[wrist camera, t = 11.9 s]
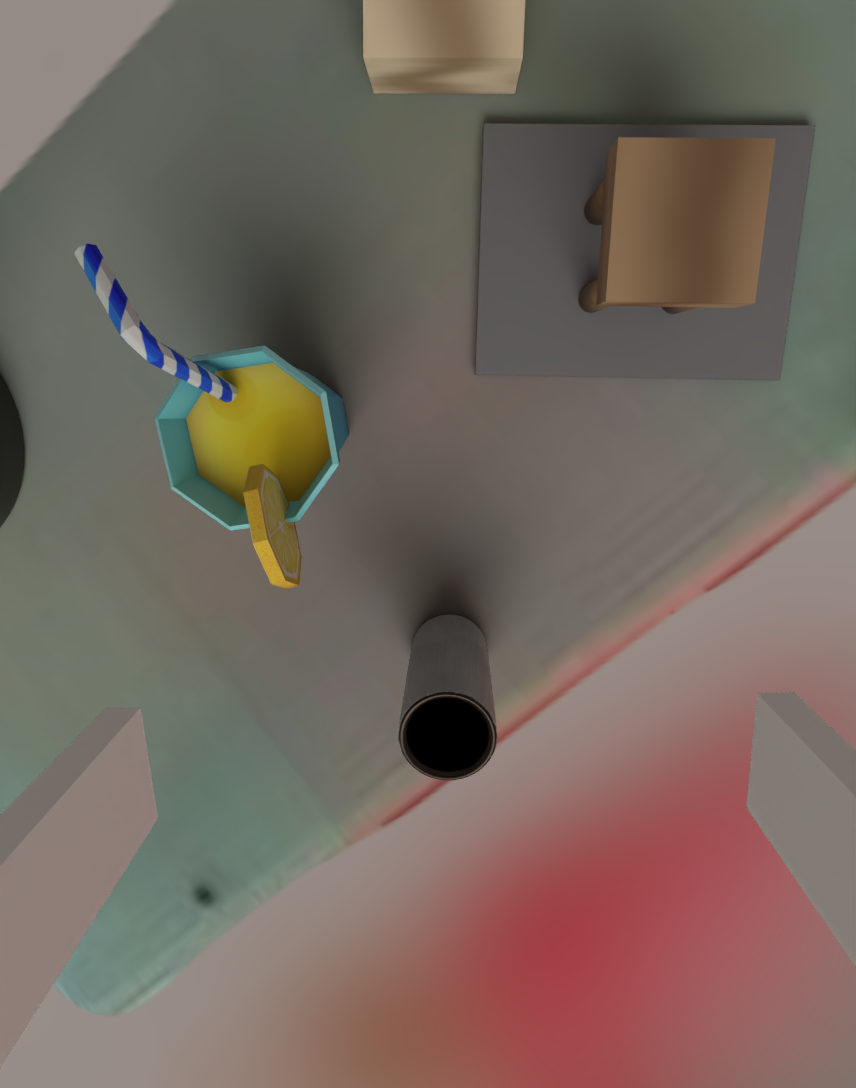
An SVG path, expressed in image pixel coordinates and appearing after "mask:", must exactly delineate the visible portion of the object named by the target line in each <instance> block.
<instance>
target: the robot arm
mask: <svg viewBox="0 0 856 1088" xmlns="http://www.w3.org/2000/svg"><path fill="white" fill-rule="evenodd" d="M23 469H24V445H23V436H22V430H21V425H20V421H19V417H18V414H17V411H16V408H15V405H14V403H13V400H12V398H11V396H10V393H9V391H8V389H7V387H6V385H5V384H4V382H3V380H2V378H1V377H0V527H1V525H2V524H3V523H4V521H5V520H6V518H7V517H8V515H9V514H10V512H11V510H12V508H13V506H14V504H15V501H16V499H17V496H18V493H19V490H20V486H21V481H22V476H23ZM747 809H748V810H749V812H750V813H751V815H752V816H753V818H754V819H755V821H756V822H757V824H758V825H759V826H760V828H761V829H762V831H763V832H764V834H765V835H766V837H767V838H768V840H769V841H770V843H771V844H772V846H773V847H774V848H775V850H776V851H777V853H778V854H779V856H780V857H781V859H782V860H783V862H784V863H785V865H786V866H787V867H788V869H789V870H790V872H791V873H792V875H793V876H794V878H795V879H796V881H797V882H798V884H799V885H800V886H801V888H802V889H803V891H804V892H805V894H806V895H807V897H808V898H809V900H810V901H811V903H812V904H813V906H814V907H815V908H816V910H817V911H818V913H819V914H820V916H821V917H822V919H823V920H824V922H825V923H826V925H827V926H828V928H829V929H830V930H831V932H832V933H833V935H834V936H835V938H836V939H837V941H838V942H839V944H840V945H841V946H842V948H843V949H844V951H845V952H846V954H847V955H848V957H849V958H850V960H851V961H852V963H853V964H854V965H855V967H856V750H855V749H854V748H853V747H852V746H851V745H850V744H849V743H848V742H846V741H845V740H844V739H843V738H842V737H841V736H840V735H839V734H838V733H837V732H836V731H835V730H834V729H833V728H832V727H830V726H829V725H828V724H827V723H826V722H825V721H824V720H823V719H822V718H821V717H820V716H819V715H817V713H816V712H815V711H813V710H812V709H811V708H810V707H809V706H808V705H807V704H806V703H805V702H804V701H803V700H802V699H800V697H798V696H797V695H796V694H795V693H757V701H756V711H755V722H754V734H753V745H752V755H751V767H750V777H749V788H748V799H747ZM157 819H158V816H157V809H156V803H155V797H154V790H153V784H152V778H151V771H150V765H149V759H148V752H147V746H146V740H145V733H144V727H143V721H142V714H141V708H106V709H105V710H104V711H103V712H102V713H101V714H100V715H99V716H98V717H97V718H96V719H95V720H94V721H93V722H92V723H91V724H90V725H89V726H88V727H87V728H86V729H85V730H84V731H83V732H82V733H81V734H80V735H79V736H78V737H77V738H76V739H75V740H74V741H73V742H72V743H71V744H70V745H69V746H68V747H67V748H66V749H65V750H64V751H63V752H62V753H61V754H60V755H59V756H58V757H57V758H56V759H55V760H54V761H53V762H52V763H51V764H50V765H49V766H48V767H47V768H46V769H45V770H44V771H43V772H42V774H41V775H40V776H39V777H38V778H37V779H36V780H35V781H34V782H33V783H32V784H31V785H30V786H29V787H28V788H27V789H26V790H25V791H24V792H23V793H22V794H21V795H20V796H19V797H18V798H17V799H16V800H15V801H14V802H13V803H12V804H11V805H10V806H9V807H8V808H7V809H6V810H5V811H4V812H3V813H2V814H1V815H0V1068H1V1066H2V1065H3V1063H4V1061H5V1060H6V1058H7V1057H8V1055H9V1053H10V1051H11V1050H12V1049H13V1047H14V1046H15V1044H16V1042H17V1041H18V1039H19V1038H20V1036H21V1034H22V1033H23V1031H24V1030H25V1028H26V1027H27V1025H28V1023H29V1022H30V1020H31V1019H32V1017H33V1015H34V1014H35V1012H36V1011H37V1009H38V1008H39V1006H40V1004H41V1003H42V1001H43V999H44V998H45V996H46V995H47V993H48V992H49V990H50V988H51V987H52V985H53V984H54V982H55V981H56V979H57V977H58V976H59V974H60V973H61V971H62V969H63V968H64V966H65V965H66V963H67V962H68V960H69V958H70V957H71V955H72V954H73V952H74V950H75V949H76V947H77V946H78V944H79V943H80V941H81V939H82V938H83V936H84V935H85V933H86V931H87V930H88V928H89V927H90V925H91V924H92V922H93V920H94V919H95V917H96V916H97V914H98V912H99V911H100V909H101V908H102V906H103V905H104V903H105V901H106V900H107V898H108V897H109V895H110V893H111V892H112V890H113V889H114V887H115V886H116V884H117V882H118V881H119V879H120V878H121V876H122V874H123V873H124V871H125V870H126V868H127V867H128V865H129V863H130V862H131V860H132V859H133V857H134V855H135V854H136V852H137V851H138V849H139V848H140V846H141V844H142V843H143V841H144V840H145V838H146V836H147V835H148V833H149V832H150V830H151V829H152V827H153V825H154V824H155V822H156V821H157Z"/></svg>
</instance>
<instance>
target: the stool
mask: <svg viewBox="0 0 856 1088" xmlns="http://www.w3.org/2000/svg"><path fill="white" fill-rule="evenodd" d="M775 141H776V138H644V137H618V138H617V140H616V141H615V143H614V144H613V146H612V147H611V148H610V150H609V151H608V153H607V162H606V176H605V179H604V180H603V182H602V183H601V184H600V186H599V187H598V188H597V189H596V191H595V192H594V193H593V195H592V196H591V197H590V198H589V200H588V201H587V203H586V205H585V208H584V215H585V218H586V219H587V221H588V222H589V223H591V224H593V225H602V230H601V244H600V258H599V271H598V278H597V279H596V280H594V281H593V282H591V283H590V284H588V285H587V286H585V287H584V288H583V289H582V290H581V291H580V293H579V296H578V302H579V305H580V307H581V308H582V309H583V310H584V311H585V312H588V313H594V312H597V311H599V310H601V309H604V308H606V307H608V306H645V307H662V309H663V310H664V311H665V312H667V313H669V314H676V313H680V312H684V311H688V310H692V309H695V308H699V307H713V308H737V307H741V306H746V305H750V304H754V303H755V299H756V291H757V284H758V276H759V268H760V260H761V252H762V244H763V236H764V228H765V220H766V212H767V205H768V197H769V189H770V181H771V173H772V165H773V157H774V149H775Z"/></svg>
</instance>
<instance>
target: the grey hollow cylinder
mask: <svg viewBox="0 0 856 1088" xmlns="http://www.w3.org/2000/svg"><path fill="white" fill-rule="evenodd" d="M398 740H399V745H400V748H401V751H402V753H403V755H404V757H405V758H406V760H407V761H408V762H409V763H410V764H411V765H412V766H413V767H414V768H415V769H416V770H417V771H419V772H421V773H422V774H424V775H426V776H429V777H431V778H435V779H440V780H457V779H462V778H465V777H468V776H470V775H472V774H474V773H476V772H478V771H479V770H480V769H482V767H484V765H486V764H487V762H488V761H489V760H490V758H491V757H492V755H493V753H494V750H495V747H496V743H497V727H496V718H495V709H494V701H493V692H492V683H491V675H490V666H489V657H488V649H487V644H486V640H485V638H484V635H483V633H482V632H481V630H480V629H479V628H478V627H477V626H476V625H475V624H474V623H473V622H472V621H470V620H468V619H467V618H464V617H462V616H458V615H451V614H447V615H440V616H437V617H434V618H432V619H430V620H428V621H427V622H425V623H424V624H423V625H422V626H421V627H420V628H419V630H418V631H417V633H416V635H415V637H414V640H413V643H412V647H411V653H410V659H409V666H408V672H407V678H406V685H405V691H404V697H403V703H402V710H401V716H400V722H399V729H398Z"/></svg>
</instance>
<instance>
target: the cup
mask: <svg viewBox="0 0 856 1088" xmlns="http://www.w3.org/2000/svg"><path fill="white" fill-rule="evenodd" d="M74 254H75V256H76V257H77V259H78V261H79V263H80V265H81V266H82V268H83V270H84V272H85V273H86V275H87V277H88V279H89V281H90V282H91V284H92V286H93V288H94V289H95V291H96V293H97V295H98V297H99V298H100V300H101V302H102V304H103V305H104V307H105V309H106V311H107V313H108V314H109V316H110V318H111V320H112V321H113V323H114V325H115V327H116V329H117V330H118V332H119V334H120V336H121V337H122V339H124V340H125V341H126V342H127V343H128V344H129V345H130V346H131V347H132V348H133V349H135V350H136V351H137V352H138V353H139V354H140V355H141V356H142V357H143V358H145V359H146V360H147V361H148V362H150V363H151V364H153V365H155V366H157V367H159V368H161V369H163V370H165V371H167V372H169V373H171V374H172V375H174V376H176V377H178V380H177V382H176V383H175V385H174V386H173V388H172V390H171V391H170V393H169V394H168V396H167V398H166V399H165V401H164V402H163V404H162V406H161V407H160V409H159V410H158V412H157V413H156V415H155V417H154V419H155V423H156V427H157V432H158V436H159V440H160V444H161V448H162V453H163V457H164V461H165V465H166V469H167V474H168V478H169V482H170V486H171V489H172V490H174V491H175V492H177V493H178V494H179V495H181V496H182V497H184V498H185V499H186V500H188V501H189V502H191V503H192V504H194V505H195V506H196V507H198V508H199V509H201V510H202V511H204V512H205V513H206V514H208V515H209V516H211V517H212V518H213V519H215V520H216V521H218V522H219V523H221V524H222V525H223V526H225V527H226V528H228V529H229V530H237V529H244V528H250V532H251V537H252V542H253V545H254V547H255V550H256V552H257V554H258V556H259V558H260V561H261V563H262V565H263V567H264V569H265V571H266V574H267V576H268V578H269V580H270V582H271V584H273V585H276V586H279V587H282V588H285V589H287V588H291V587H295V586H299V581H300V569H301V558H302V557H301V552H300V547H299V542H298V537H297V532H296V527H295V521H299V520H300V519H301V517H302V516H303V514H304V513H305V512H306V510H307V509H308V507H309V506H310V505H311V503H312V502H313V500H314V499H315V497H316V496H317V495H318V493H319V492H320V490H321V489H322V488H323V486H324V485H325V483H326V482H327V481H328V479H329V478H330V476H331V475H332V474H333V472H334V471H335V469H336V468H337V467H338V465H339V462H340V459H339V453H338V452H339V450H340V449H341V447H342V445H343V444H344V442H345V440H346V439H347V437H348V435H349V433H348V427H347V421H346V416H345V410H344V404H343V398H342V397H341V396H339V395H338V394H337V393H335V392H334V391H333V390H331V389H330V388H329V387H327V386H326V385H325V384H323V383H322V382H321V381H319V380H318V379H317V378H315V377H314V376H313V375H311V374H309V373H307V372H304V371H302V370H300V369H298V368H295V367H293V366H292V365H290V364H289V363H288V362H286V361H285V360H284V359H282V358H281V357H280V356H278V355H277V354H276V353H274V352H273V351H272V350H270V349H269V348H267V347H266V346H265V345H263V346H257V347H251V348H244V349H238V350H232V351H225V352H219V353H213V354H206V355H200V356H194V357H192V358H191V359H190V360H189V359H188V358H186V357H184V356H183V355H181V354H179V353H177V352H176V351H174V350H172V349H171V348H169V347H167V346H165V345H164V344H162V343H160V342H159V341H157V340H156V339H155V338H154V337H153V336H152V335H151V334H150V332H149V331H148V330H147V329H146V327H145V326H144V325H143V324H142V322H141V320H140V319H139V317H138V315H137V314H136V312H135V310H134V308H133V307H132V305H131V303H130V302H129V300H128V298H127V297H126V295H125V293H124V292H123V290H122V288H121V286H120V285H119V283H118V281H117V280H116V278H115V276H114V275H113V273H112V271H111V270H110V268H109V266H108V265H107V263H106V261H105V259H104V258H103V256H102V254H101V253H100V251H99V249H98V248H97V246H96V245H92V244H85V245H83V246H80V247H78V249H77V250H76V251H75V253H74Z"/></svg>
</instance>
